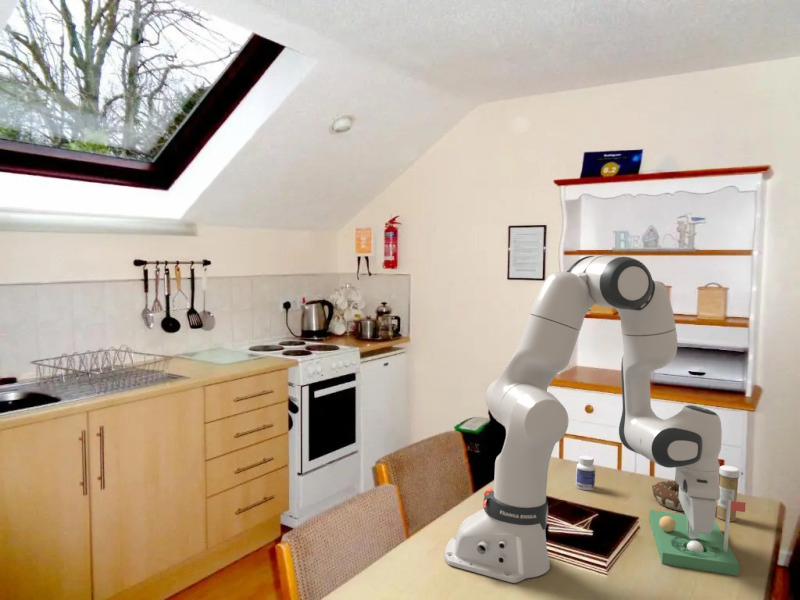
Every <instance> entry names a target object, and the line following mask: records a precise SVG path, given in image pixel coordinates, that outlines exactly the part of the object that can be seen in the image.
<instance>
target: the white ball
mask: <svg viewBox="0 0 800 600" xmlns="http://www.w3.org/2000/svg"><path fill="white" fill-rule="evenodd" d="M687 549H688V550H691V551H694V552H700V553H703V552H704V548H703V546H702V544H701V543H700V542H698V541H690V542H689V543H688V544H687Z"/></svg>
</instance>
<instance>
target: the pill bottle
mask: <svg viewBox="0 0 800 600" xmlns="http://www.w3.org/2000/svg"><path fill="white" fill-rule="evenodd" d="M594 459H595V458H594V457H593V456H590V455H586V454H585V455H579V458H578V460H579V461H578V463H577V464H576V469H575V471H576V472H575V487H576V488H577V489H579V490H582V491H593V490H595V484H596V483H595V482H596V466H595V465H594Z"/></svg>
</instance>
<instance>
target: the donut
mask: <svg viewBox="0 0 800 600" xmlns="http://www.w3.org/2000/svg"><path fill="white" fill-rule="evenodd" d="M651 487H652V488H651V489H652V494H653V497H654V499H655V500H656V502H658V503H659V504H660V505H662V506H664V507H666V508H668V509H671V510H674V511H678V512H684V510H683V508H682V505H681V503H680V501H679V485H678V484H677V483H676V482H675V480H664V481H663V480H662V481H660V482H657V483H655V484H654V485H651Z"/></svg>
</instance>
